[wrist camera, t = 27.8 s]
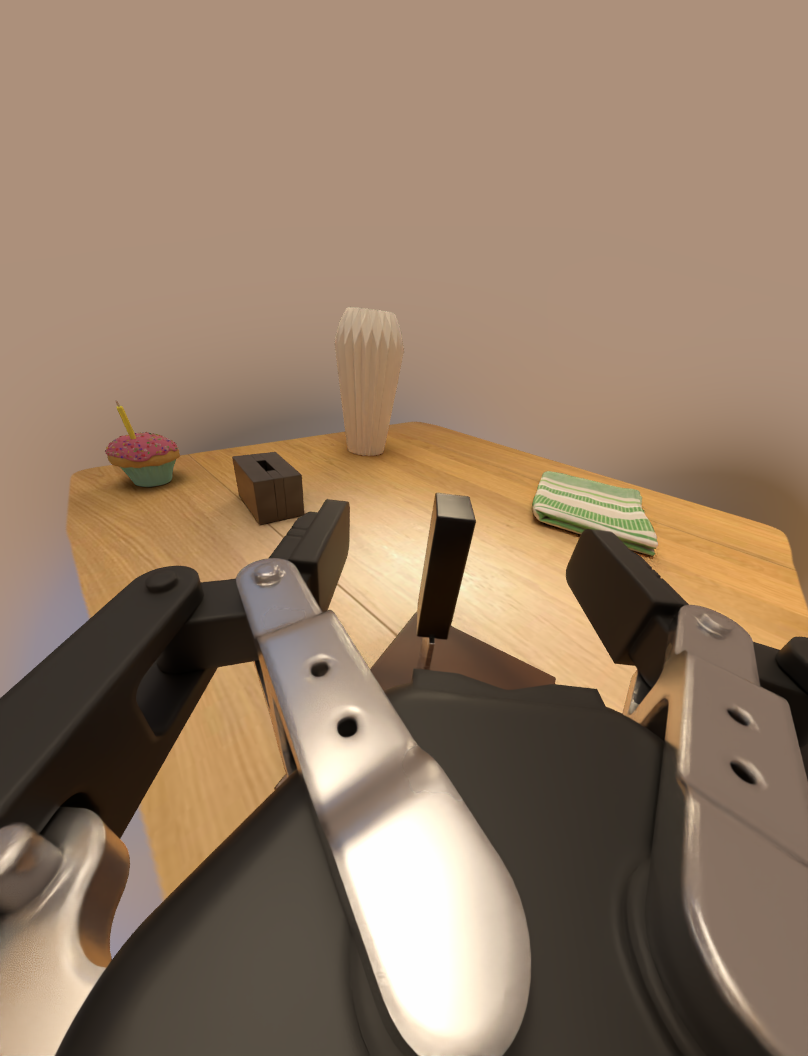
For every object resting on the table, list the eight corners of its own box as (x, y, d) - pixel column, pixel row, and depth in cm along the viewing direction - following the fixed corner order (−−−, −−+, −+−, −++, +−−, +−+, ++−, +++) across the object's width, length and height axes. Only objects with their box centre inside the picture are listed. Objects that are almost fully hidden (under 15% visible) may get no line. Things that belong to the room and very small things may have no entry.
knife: (401, 728, 20) (436, 520, 13) (404, 684, 23) (435, 489, 15) (426, 731, 20) (477, 524, 13) (426, 687, 23) (469, 493, 15)
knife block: (259, 525, 41) (253, 482, 38) (238, 495, 48) (232, 456, 45) (304, 515, 45) (301, 474, 42) (279, 488, 51) (275, 451, 48)
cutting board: (485, 1000, 13) (494, 995, 12) (276, 800, 18) (273, 788, 17) (549, 689, 25) (556, 677, 24) (416, 621, 30) (418, 609, 29)
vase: (325, 444, 74) (322, 305, 60) (376, 439, 81) (382, 314, 67) (352, 463, 64) (355, 305, 51) (406, 456, 72) (421, 316, 58)
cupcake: (167, 493, 46) (141, 406, 40) (102, 490, 45) (65, 400, 39) (195, 472, 54) (177, 395, 48) (139, 469, 53) (113, 390, 46)
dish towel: (637, 501, 62) (644, 488, 61) (657, 561, 43) (668, 544, 42) (541, 477, 68) (545, 465, 67) (523, 521, 50) (529, 505, 48)
